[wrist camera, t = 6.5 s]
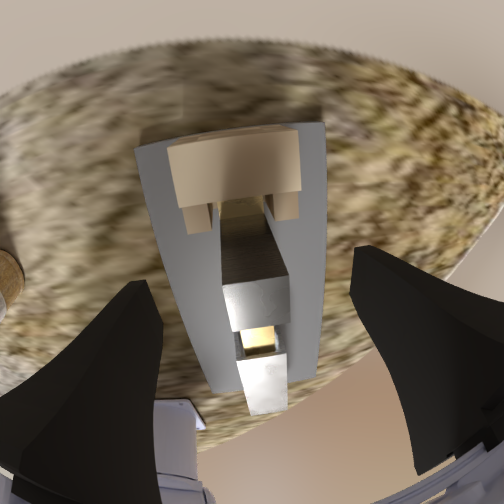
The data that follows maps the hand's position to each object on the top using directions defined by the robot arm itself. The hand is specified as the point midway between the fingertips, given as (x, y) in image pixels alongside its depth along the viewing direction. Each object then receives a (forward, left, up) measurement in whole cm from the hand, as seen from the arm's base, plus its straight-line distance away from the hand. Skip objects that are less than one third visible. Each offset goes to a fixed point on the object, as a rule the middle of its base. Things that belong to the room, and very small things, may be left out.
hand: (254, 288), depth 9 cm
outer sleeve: (0, -13, -7) cm, 14 cm away
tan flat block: (0, -4, -7) cm, 8 cm away
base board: (0, -6, -8) cm, 10 cm away
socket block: (0, +3, -7) cm, 7 cm away
